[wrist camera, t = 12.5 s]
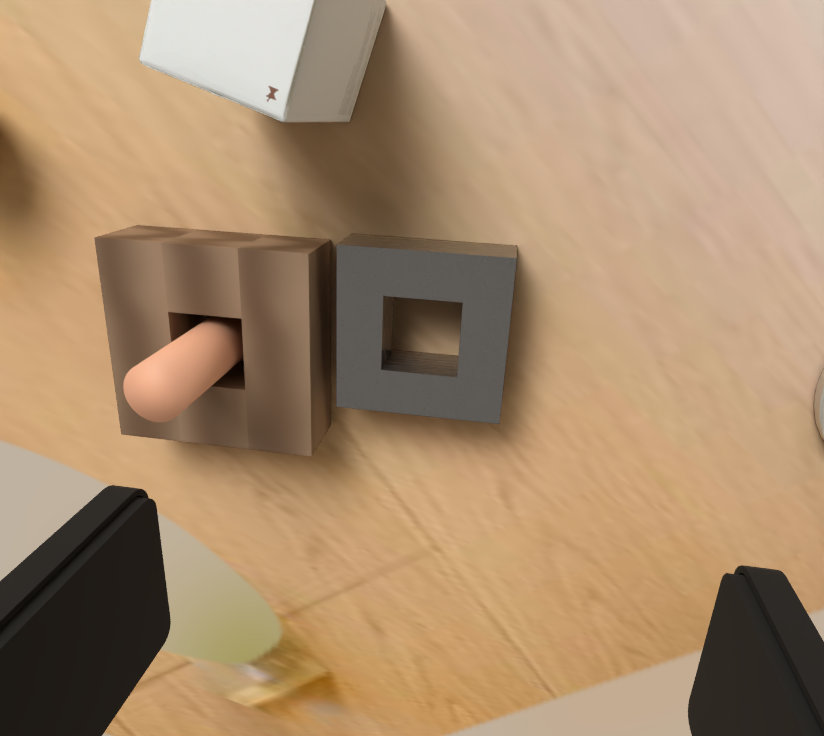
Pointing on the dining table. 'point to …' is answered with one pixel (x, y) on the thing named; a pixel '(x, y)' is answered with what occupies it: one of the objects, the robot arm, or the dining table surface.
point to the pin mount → (416, 371)
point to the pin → (184, 369)
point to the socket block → (236, 298)
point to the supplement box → (267, 52)
